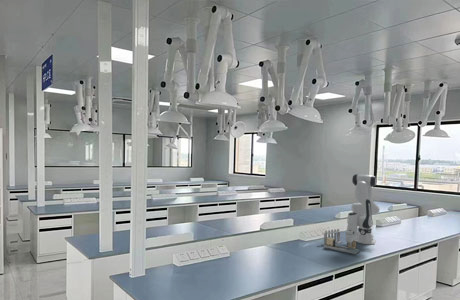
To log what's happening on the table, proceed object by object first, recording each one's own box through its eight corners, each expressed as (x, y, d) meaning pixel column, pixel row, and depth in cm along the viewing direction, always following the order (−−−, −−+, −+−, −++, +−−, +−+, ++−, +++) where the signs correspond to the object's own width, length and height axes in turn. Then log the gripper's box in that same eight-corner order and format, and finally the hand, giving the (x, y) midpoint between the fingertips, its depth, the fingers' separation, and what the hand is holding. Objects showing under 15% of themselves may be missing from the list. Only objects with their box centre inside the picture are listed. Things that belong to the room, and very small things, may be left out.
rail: (328, 246, 297) (328, 236, 297) (358, 252, 278) (359, 242, 278) (324, 248, 289) (324, 238, 289) (354, 255, 271) (355, 244, 271)
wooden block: (348, 248, 291) (348, 239, 291) (355, 250, 287) (356, 241, 287) (346, 249, 288) (347, 240, 288) (354, 250, 284) (354, 242, 284)
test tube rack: (325, 245, 298) (325, 231, 299) (321, 244, 302) (321, 230, 302) (342, 242, 312) (342, 229, 312) (338, 241, 316) (338, 228, 316)
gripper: (352, 228, 298) (352, 242, 297) (344, 231, 282) (344, 247, 282) (359, 229, 293) (359, 244, 293) (351, 233, 278) (351, 248, 278)
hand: (351, 245), depth 287 cm, fingers closed on wooden block, 4 cm apart
